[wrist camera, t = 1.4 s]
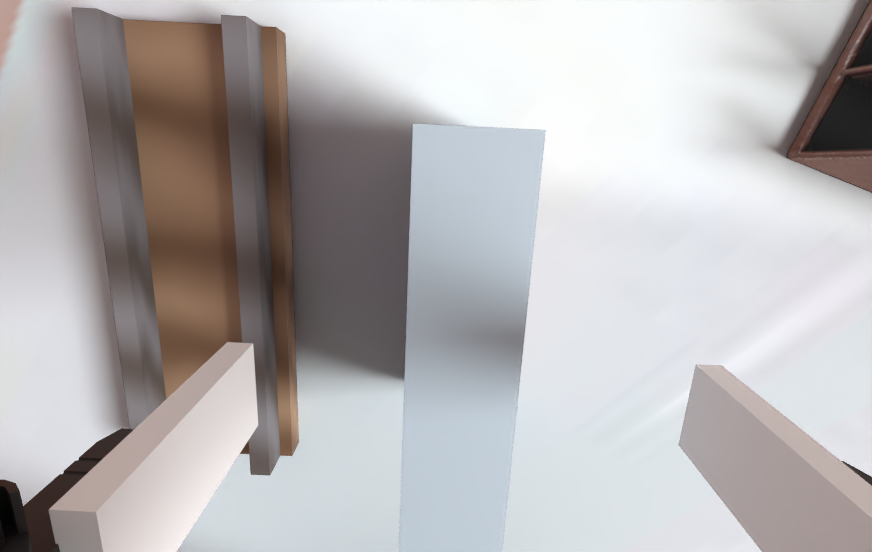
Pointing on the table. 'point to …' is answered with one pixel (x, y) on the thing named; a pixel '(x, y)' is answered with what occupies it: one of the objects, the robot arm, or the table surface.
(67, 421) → the table surface
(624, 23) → the table surface
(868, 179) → the letter holder
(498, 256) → the sliding panel
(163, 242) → the floor track
